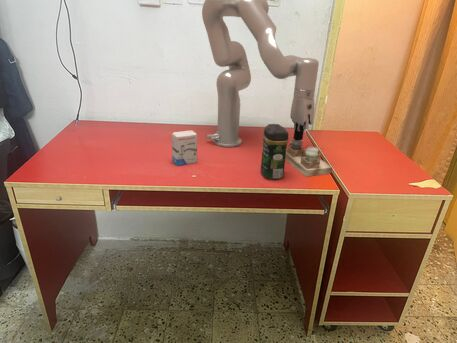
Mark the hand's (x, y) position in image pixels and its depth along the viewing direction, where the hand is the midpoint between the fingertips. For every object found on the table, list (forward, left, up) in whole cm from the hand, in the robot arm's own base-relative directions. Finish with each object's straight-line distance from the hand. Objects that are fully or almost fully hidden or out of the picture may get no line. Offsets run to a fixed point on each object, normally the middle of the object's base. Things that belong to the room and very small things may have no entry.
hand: (297, 139), depth 135 cm
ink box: (-44, +9, -9) cm, 45 cm away
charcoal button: (0, 0, -5) cm, 5 cm away
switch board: (+2, -5, -9) cm, 11 cm away
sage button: (0, -11, -5) cm, 12 cm away
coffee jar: (-15, -10, -9) cm, 20 cm away
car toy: (+9, +18, -10) cm, 22 cm away
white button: (+4, -5, -6) cm, 9 cm away
